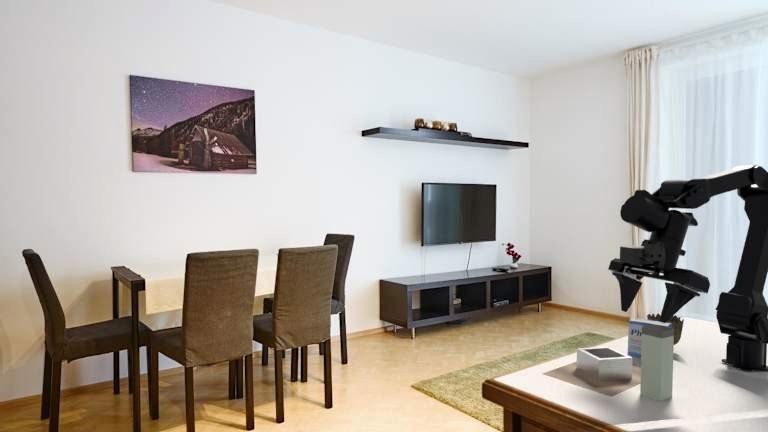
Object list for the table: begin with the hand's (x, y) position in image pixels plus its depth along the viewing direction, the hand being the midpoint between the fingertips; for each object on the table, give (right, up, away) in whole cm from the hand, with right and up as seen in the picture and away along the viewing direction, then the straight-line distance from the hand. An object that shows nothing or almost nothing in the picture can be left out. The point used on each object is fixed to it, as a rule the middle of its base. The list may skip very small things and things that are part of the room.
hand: (642, 316), depth 96 cm
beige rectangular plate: (-6, -13, +3) cm, 14 cm away
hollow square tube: (-6, -12, +3) cm, 14 cm away
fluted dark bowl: (+16, -12, +20) cm, 28 cm away
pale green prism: (-2, -13, -8) cm, 16 cm away
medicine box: (+8, -13, +13) cm, 20 cm away
